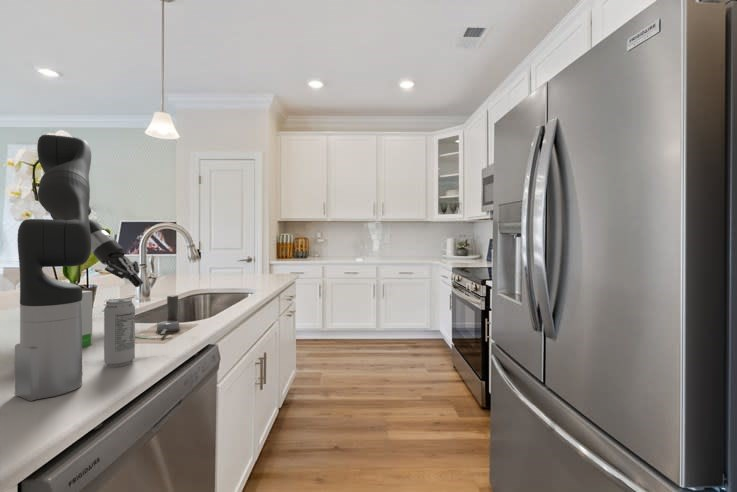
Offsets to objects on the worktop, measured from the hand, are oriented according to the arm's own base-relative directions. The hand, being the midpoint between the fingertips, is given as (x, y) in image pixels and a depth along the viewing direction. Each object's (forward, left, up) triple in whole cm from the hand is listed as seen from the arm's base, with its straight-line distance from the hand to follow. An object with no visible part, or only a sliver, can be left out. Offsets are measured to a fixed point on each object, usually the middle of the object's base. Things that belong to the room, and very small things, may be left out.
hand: (140, 285), depth 121 cm
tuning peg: (-2, -16, -13) cm, 21 cm away
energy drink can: (-24, -30, -14) cm, 40 cm away
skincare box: (-25, -10, -14) cm, 30 cm away
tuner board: (-4, -16, -14) cm, 22 cm away
